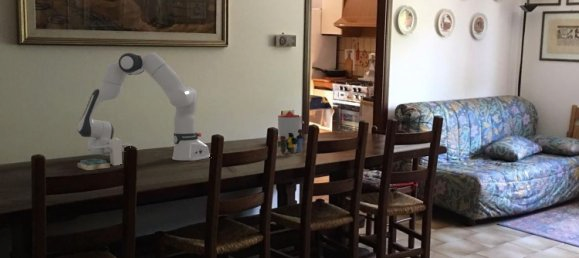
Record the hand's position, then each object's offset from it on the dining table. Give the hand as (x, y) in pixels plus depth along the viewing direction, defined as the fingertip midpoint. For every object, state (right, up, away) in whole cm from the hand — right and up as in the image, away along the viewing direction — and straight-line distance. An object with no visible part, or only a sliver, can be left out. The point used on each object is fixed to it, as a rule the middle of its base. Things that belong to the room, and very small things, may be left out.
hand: (116, 150), depth 310 cm
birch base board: (-10, -8, -6) cm, 14 cm away
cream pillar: (-1, -7, +2) cm, 8 cm away
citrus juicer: (+90, +2, +81) cm, 121 cm away
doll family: (+91, -3, +34) cm, 97 cm away
